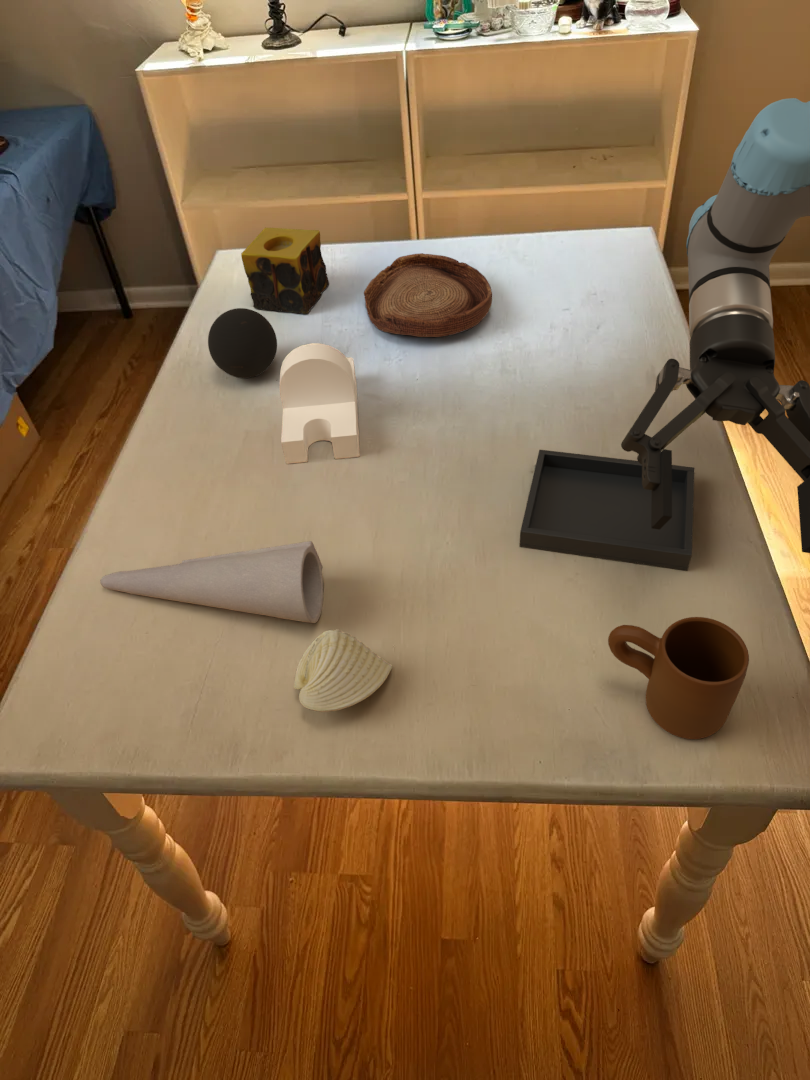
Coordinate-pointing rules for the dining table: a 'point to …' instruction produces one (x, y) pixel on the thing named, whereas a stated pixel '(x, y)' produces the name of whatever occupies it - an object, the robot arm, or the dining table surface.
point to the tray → (606, 511)
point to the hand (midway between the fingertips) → (738, 535)
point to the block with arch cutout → (318, 402)
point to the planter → (237, 582)
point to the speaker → (242, 343)
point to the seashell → (338, 672)
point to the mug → (686, 672)
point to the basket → (427, 296)
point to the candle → (285, 269)
